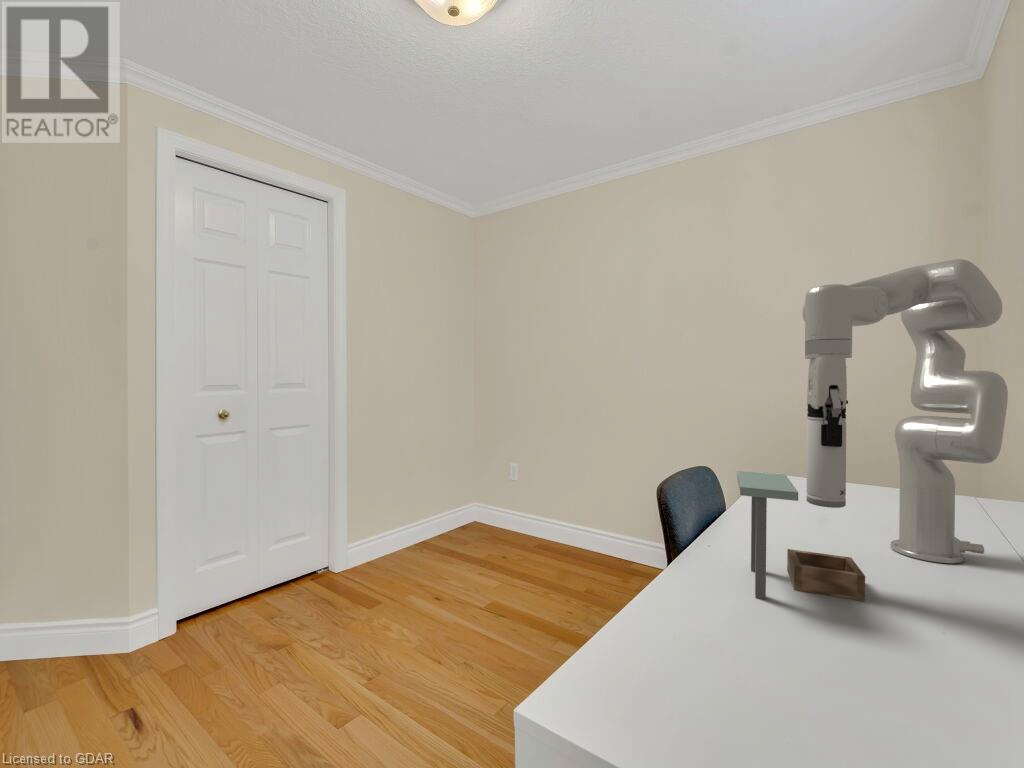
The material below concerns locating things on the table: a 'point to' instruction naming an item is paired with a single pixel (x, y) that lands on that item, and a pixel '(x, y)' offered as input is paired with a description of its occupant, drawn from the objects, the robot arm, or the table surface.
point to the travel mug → (825, 463)
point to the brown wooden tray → (825, 574)
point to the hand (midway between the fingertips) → (827, 443)
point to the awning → (762, 515)
